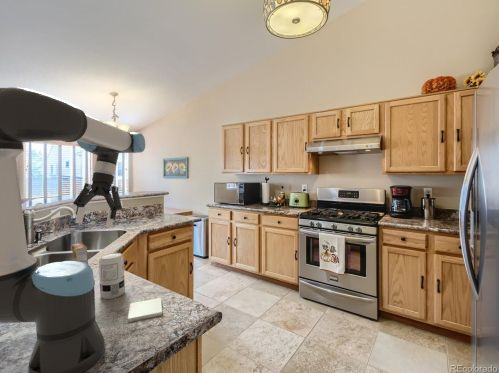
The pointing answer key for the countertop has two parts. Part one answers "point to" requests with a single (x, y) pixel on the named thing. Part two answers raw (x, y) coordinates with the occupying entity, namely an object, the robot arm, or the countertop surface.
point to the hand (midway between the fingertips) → (93, 225)
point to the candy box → (80, 253)
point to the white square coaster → (145, 309)
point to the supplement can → (111, 275)
